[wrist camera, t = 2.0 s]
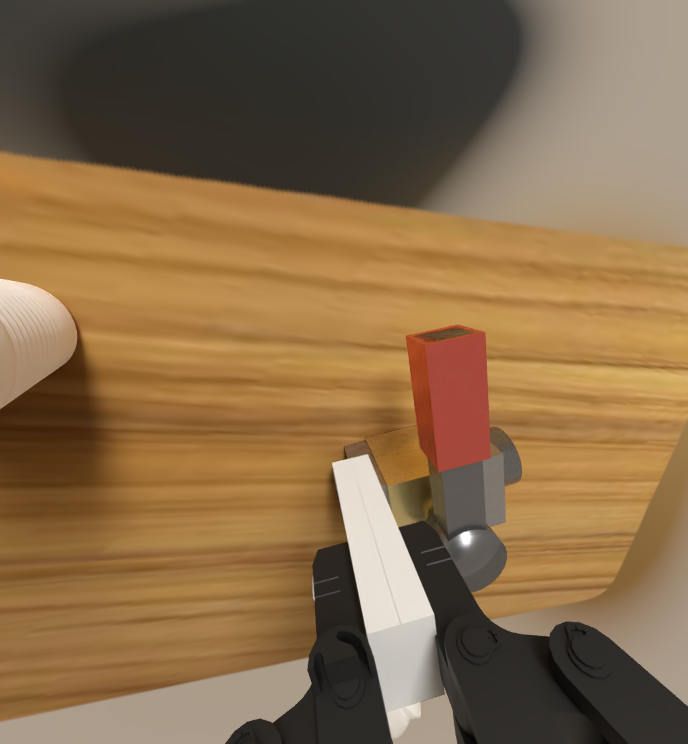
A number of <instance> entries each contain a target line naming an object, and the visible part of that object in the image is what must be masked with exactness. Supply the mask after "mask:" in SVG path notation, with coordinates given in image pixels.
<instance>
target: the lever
mask: <svg viewBox="0 0 688 744" xmlns="http://www.w3.org/2000/svg"><path fill="white" fill-rule="evenodd" d="M406 340H407V348H408V356H409V365H410V373H411V381H412V389H413V397H414V405H415V413H416V421H417V430H418V438H419V446H420V449H421V450H422V451H423V453H424V454H425V455H426V457H427V459H428V467H429V476H430V484H431V493H432V502H433V510H434V512H432V513H431V514H430V515H429V516H428V517H427V519H426V520H425V522H426V523H427V524H429V525H430V526H431V527H432V528H434V529H435V530H436V531H437V533H438V535H439V536H440V538H441V540H442V542H443V543H444V546H445V548H446V549H447V551H448V552H449V554H450V556H451V559H452V560H453V561H454V563H455V565H456V567H457V568H458V570H459V572H460V574H461V576H462V577H463V579H464V581H465V583H466V585H467V586H468V588H469V590H470V592H471V593H472V592H476V591H478V590H481V589H483V588H485V587H486V586H488V585H489V584H491V583H492V582H493V581H494V580H495V579H496V578H497V577H498V576H499V575H500V574H501V572H502V570H503V569H504V567H505V564H506V560H507V551H506V548H505V546H504V544H503V543H502V542H501V540H500V539H499V538H498V537H497V535H496V534H495V533H494V532H493V530H492V529H491V528H490V527H489V525H488V524H487V523H486V512H485V493H484V475H483V460H487V459H491V450H490V428H489V405H488V383H487V360H486V338H485V332H482V331H479V330H475V329H472V328H468V327H464V326H461V325H454V326H449V327H445V328H440V329H436V330H431V331H426V332H422V333H417V334H413V335H408V336H406Z"/></svg>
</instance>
